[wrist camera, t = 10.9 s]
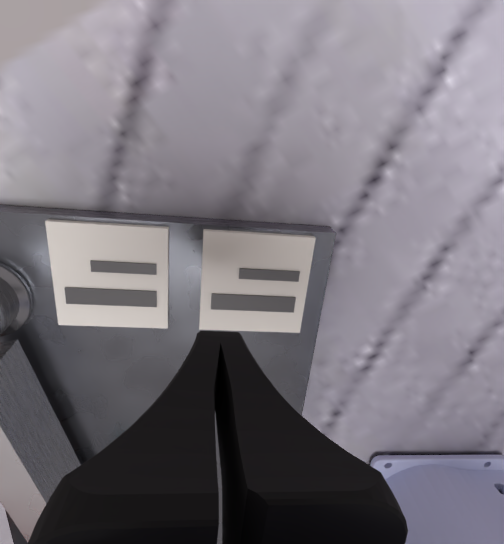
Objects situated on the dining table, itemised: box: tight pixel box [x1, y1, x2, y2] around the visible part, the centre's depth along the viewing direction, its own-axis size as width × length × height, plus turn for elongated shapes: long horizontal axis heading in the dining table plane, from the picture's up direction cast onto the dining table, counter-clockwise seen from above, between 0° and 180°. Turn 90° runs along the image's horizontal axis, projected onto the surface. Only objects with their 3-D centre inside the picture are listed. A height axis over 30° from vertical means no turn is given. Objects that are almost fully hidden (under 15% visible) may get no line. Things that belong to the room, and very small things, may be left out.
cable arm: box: [0, 339, 81, 542], centre depth 18 cm, size 14×3×4 cm, turn 9°
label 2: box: [199, 229, 316, 333], centre depth 18 cm, size 5×5×1 cm
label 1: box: [45, 219, 169, 329], centre depth 17 cm, size 5×5×1 cm
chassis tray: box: [0, 205, 336, 544], centre depth 21 cm, size 17×24×1 cm
